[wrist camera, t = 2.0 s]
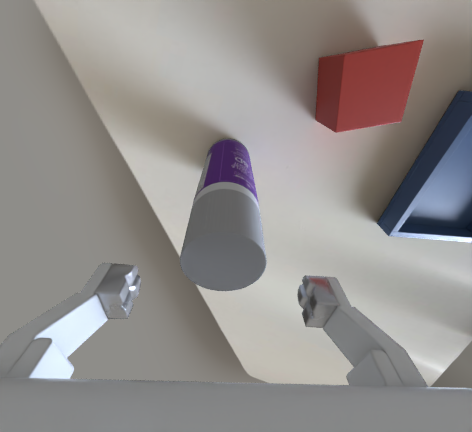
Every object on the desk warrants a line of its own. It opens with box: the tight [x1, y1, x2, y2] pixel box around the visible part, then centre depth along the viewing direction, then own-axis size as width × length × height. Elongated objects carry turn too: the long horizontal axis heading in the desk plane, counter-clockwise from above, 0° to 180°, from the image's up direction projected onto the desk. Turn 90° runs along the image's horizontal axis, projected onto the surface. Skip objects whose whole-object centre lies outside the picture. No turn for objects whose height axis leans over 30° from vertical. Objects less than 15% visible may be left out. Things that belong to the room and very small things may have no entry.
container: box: [180, 139, 266, 291], centre depth 17 cm, size 5×5×15 cm
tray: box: [377, 90, 472, 242], centre depth 23 cm, size 16×13×3 cm
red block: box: [316, 40, 424, 132], centre depth 17 cm, size 5×5×5 cm
